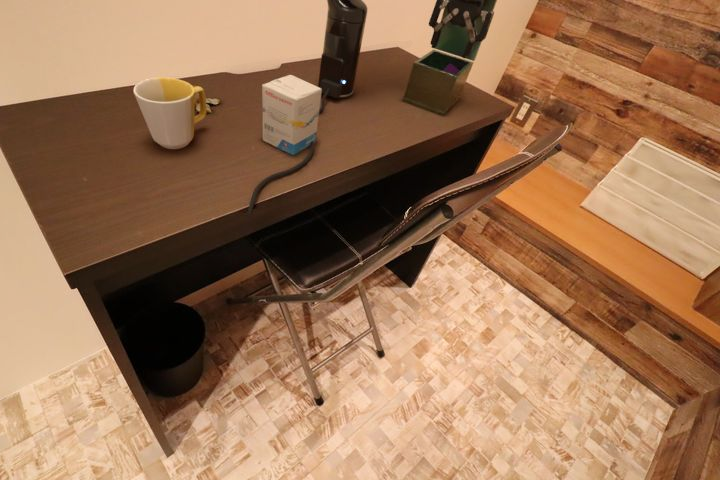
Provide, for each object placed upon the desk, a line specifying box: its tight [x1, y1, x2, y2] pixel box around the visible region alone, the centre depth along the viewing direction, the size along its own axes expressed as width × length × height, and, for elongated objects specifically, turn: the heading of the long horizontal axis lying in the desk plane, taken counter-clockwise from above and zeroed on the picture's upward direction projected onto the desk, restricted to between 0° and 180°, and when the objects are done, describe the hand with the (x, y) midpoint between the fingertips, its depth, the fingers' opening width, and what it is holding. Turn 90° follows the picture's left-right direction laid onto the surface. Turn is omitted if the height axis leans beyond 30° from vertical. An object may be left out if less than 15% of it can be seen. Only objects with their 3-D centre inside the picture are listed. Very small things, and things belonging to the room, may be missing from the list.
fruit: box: [191, 84, 221, 114], centre depth 83 cm, size 8×8×4 cm
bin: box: [402, 49, 474, 116], centre depth 99 cm, size 15×12×10 cm
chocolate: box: [443, 63, 459, 75], centre depth 100 cm, size 8×4×4 cm
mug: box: [132, 76, 207, 150], centre depth 70 cm, size 14×10×10 cm
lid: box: [434, 0, 498, 62], centre depth 94 cm, size 16×12×5 cm
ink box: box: [261, 74, 322, 156], centre depth 74 cm, size 9×8×12 cm
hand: (448, 52), depth 94 cm, fingers open, 8 cm apart
